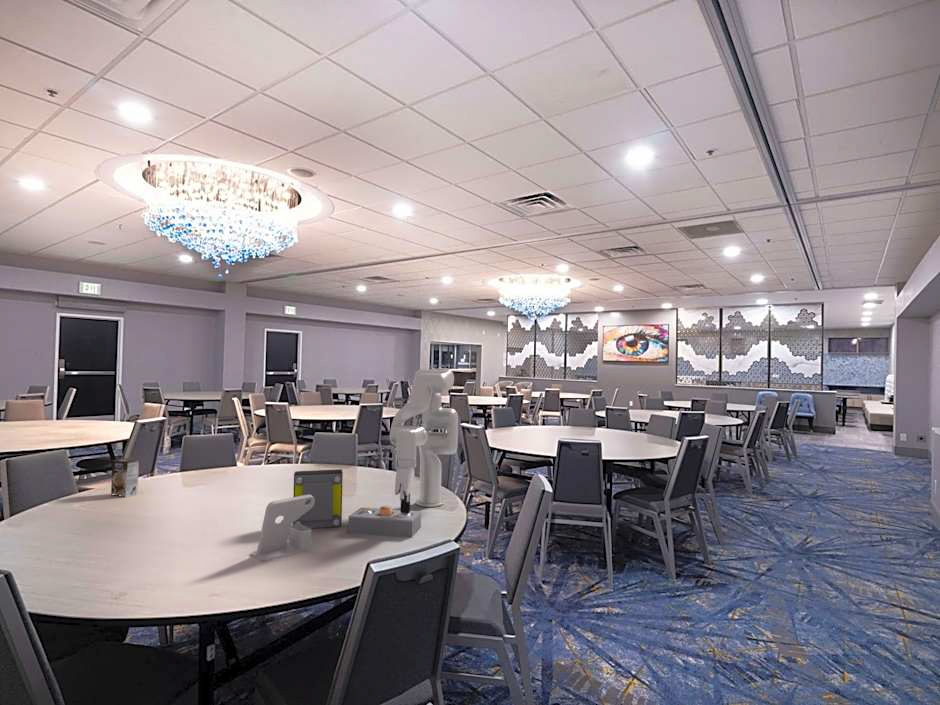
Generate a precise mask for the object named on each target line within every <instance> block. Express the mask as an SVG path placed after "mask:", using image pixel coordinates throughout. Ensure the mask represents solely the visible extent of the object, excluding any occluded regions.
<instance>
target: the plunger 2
mask: <svg viewBox="0 0 940 705" xmlns="http://www.w3.org/2000/svg"><path fill="white" fill-rule="evenodd" d="M399 517H411V513H400V514H399Z"/></svg>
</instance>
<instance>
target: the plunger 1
mask: <svg viewBox="0 0 940 705" xmlns="http://www.w3.org/2000/svg"><path fill="white" fill-rule="evenodd" d="M360 514H366V515H371V514H372V510H369V509H366V510H362V511H361V513H360Z"/></svg>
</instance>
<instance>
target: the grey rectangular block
mask: <svg viewBox="0 0 940 705" xmlns="http://www.w3.org/2000/svg"><path fill="white" fill-rule="evenodd" d="M366 509H369V510H372V514H371V515H366V514H360V513H361V511H362V510H366ZM400 513H401V509H392V515H391V516H381V515H380V508H375V507H373V508H372V507H359V509H357V510H356V511H354V512H352V513H351V514H350V515H349V516H348V533H349V534H362V535H374V536H386V537H387V536H388V537H389V536H390V537H400V538H402V537H403V538H405V537H406V538H413V537H414V536H415V535H416V533H417V532H419V530H420V529H421V527H422V511H420V510H410V512H409V513H411V517H399V514H400Z"/></svg>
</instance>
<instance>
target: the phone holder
mask: <svg viewBox="0 0 940 705" xmlns="http://www.w3.org/2000/svg"><path fill="white" fill-rule="evenodd" d="M308 499H311V502H310V503H309V504H307V505H305V502H306V501H307V500H308ZM314 503H315V498H314V497H313V496H312V495H303V496H298V497H289V498H288V497H287V498H283V499H279V500H277V499H276V500H273V501H271V502H269V503H268V504H267V505H266V507H265V512H264V516H263V521H262V525H261V530H260V531H261V532H260V535H259V540H258V545H257V550H253V551H251V552H250V554H251V556H252V557H253V558H255V559H257V560H259V561H261V562H264V563H268V562H271V561H275V560H278V559H282V558H286V557H290V556H293V555H296V554H300V553H304V552H307V551H311V550H312V549H313V546H312V528H308V527H306V526H303V525H300V524H295V525H293V522H294V521H296V520H297V519H298V518H300V517H301V516H302V515H303V514H305V513H306V512H307V511H309V510H310V509H311V508H312V507H313V506H314ZM278 517H283V519H282V520H281V521H280V522H279V523H277V522H276V520H277V519H278Z"/></svg>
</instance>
